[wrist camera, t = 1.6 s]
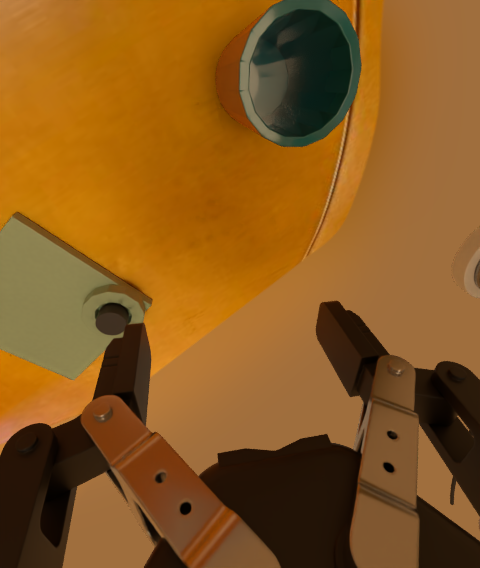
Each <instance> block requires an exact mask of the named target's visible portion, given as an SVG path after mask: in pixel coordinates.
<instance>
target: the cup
mask: <svg viewBox="0 0 480 568" xmlns="http://www.w3.org/2000/svg"><path fill="white" fill-rule="evenodd" d="M360 73H361V57H360V48H359V39H358V36H357V34H356V32H355V30H354V28H353V26H352V24H351V22H350V20H349V18H348V17H347V15H346V13H345V12H344V11H343V10H342V9H340V8H339V7H338V6H336V5H335V4H334V3H332V2H331V1H330V0H282V1H280V2H278V3H276V4H274V5H272V6H271V7H269V8H268V9H267V10H266V11H265V12H264V13H262V14H261V15H260V16H259V17H258V18H257V19H255V20H254V21H253V22H252V23H251V24H250V25H248V26H247V27H246V28H245V29H244V30H243V31H241V32H240V33H239V34H238V35H237V36H236V37H234V38H233V40H232V41H231V42H230V43H229V44H228V45H227V46H226V48H225V49H224V50H223V52H222V54H221V56H220V59H219V61H218V65H217V69H216V90H217V94H218V97H219V100H220V102H221V104H222V106H223V108H224V109H225V111H226V112H227V113H228V114H229V115H230V116H231V117H232V118H233V119H234V120H236V121H237V122H239V123H240V124H242V125H244V126H245V127H247V128H249V129H250V130H252V131H254V132H255V133H257V134H259V135H260V136H262V137H264V138H266V139H268V140H270V141H272V142H274V143H276V144H278V145H280V146H283V147H303V146H307V145H309V144H311V143H314V142H316V141H318V140H321V139H323V138H324V137H326V136H327V135H328V134H329V133H330V132H331V131H332V130H333V129H334V128H335V127H336V126H337V125H338V124H339V123H340V122H341V121H342V120H343V119H344V117H345V115H346V113H347V111H348V110H349V108H350V106H351V104H352V102H353V100H354V98H355V95H356V93H357V88H358V83H359V78H360Z"/></svg>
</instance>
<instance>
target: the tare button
mask: <svg viewBox="0 0 480 568" xmlns="http://www.w3.org/2000/svg"><path fill="white" fill-rule="evenodd" d="M128 318H129V313H128V311H127V309H126V308H125V307H124V306H122V305H120V304H116V303H109V304H106V305H104V306H102V307H101V308H100V310H99V313H98V316H97V318H96V322H95V324H96V327H97V329H98V330H99V331H100V332H101V333H103V334H106V335H118V334H121V333H122V332H124V329H125V326H126V325H127V323H128Z"/></svg>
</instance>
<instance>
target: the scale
mask: <svg viewBox="0 0 480 568" xmlns="http://www.w3.org/2000/svg"><path fill="white" fill-rule="evenodd" d="M109 303H116V304H120V305H122V306H124V307H125V308H126V309H127V311H128V313H129V318H128V323H127V325H129V324H138V323H143V320H144V315H145V311H146V310H147V309H148V308H149V307H150V306H151V304H152V299H150V298H149V297H147V296H146V295H144V294H143V293H141V292H140V291H138V290H136V289H135V288H133V287H132V286H130V285H129V284H127V283H126V282H124V281H123V280H121V279H120V278H118V277H116V276H115V275H113V274H112V273H110V272H109V271H107V270H106V269H104V268H103V267H101V266H100V265H98V264H97V263H95V262H93V261H92V260H90V259H89V258H87V257H86V256H84V255H83V254H81V253H80V252H78V251H77V250H75V249H73V248H72V247H70V246H69V245H67V244H66V243H64V242H63V241H61V240H60V239H58V238H57V237H55V236H54V235H52V234H50V233H49V232H47V231H46V230H44V229H43V228H41V227H40V226H38V225H37V224H35V223H34V222H32V221H30V220H29V219H27V218H26V217H24V216H23V215H21V214H20V213H18V212H17V213H16V214H14V215H13V216H12V217H11V218H10V219H9V221H8V222H7V223H6V225H5V226H4V227H3V229H2V230H1V231H0V349H1V350H4V351H6V352H8V353H11V354H13V355H15V356H18V357H20V358H22V359H25V360H27V361H29V362H32V363H34V364H36V365H39V366H41V367H43V368H46V369H48V370H50V371H53V372H55V373H57V374H60V375H62V376H64V377H67V378H69V379H71V380H75V379H76V378H77V377H78V376H79V375H80V374H81V373H82V372H83V371H84V370H85V369H86V368H87V367H88V366H89V365H90V364H91V363H92V362H93V361H94V360H95V359H96V358H97V357H98V356H99V355H100V354H102V353H103V352H104V351H105V350H106V347H107V346H108V345H109V343H110V342H111V341H112V340H113V338H121V337H123V334H124V332H122V333H121V334H118V335H106V334H103V333H101V332H100V331H99V330H98V329H97V327H96V324H95V322H96V318H97V316H98V313H99V310H100V308H101V307H102V306H104V305H106V304H109Z"/></svg>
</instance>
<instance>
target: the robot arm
mask: <svg viewBox="0 0 480 568" xmlns="http://www.w3.org/2000/svg"><path fill="white" fill-rule="evenodd" d="M474 282H475V285H476V286H477V287H478V288H479V289H480V260H479V262H478V264H477V266H476V268H475V272H474ZM316 335H317V339H318V341H319V342H320V344H321V346H322V348H323V350H324V352H325V353H326V355H327V357H328V359H329V361H330V362H331V364H332V366H333V368H334V369H335V371H336V373H337V375H338V377H339V378H340V380H341V382H342V384H343V385H344V387H345V389H346V391H347V392H348V394H349V396H350V397H353V396H359V395H360V397H361V398H362V400H363V405H362V410H361V415H360V420H359V424H358V429H357V434H356V439H355V443H354V448H353V449H351V448H349V447H346V446H343V445H340V444H336V443H331V442H330V440H329V438H328V435H327V434H324V435H319V436H314V437H308V438H302V439H299V440H297V441H296V442H293V443H291V444H289V445H287V446H285V447H283V448H281V449H279V450H276V451H269V450H258V449H240V450H234V451H229V452H223V453H218V463H216V464H214V465H212V466H211V467H209V468H208V469H206V470H205V471H204V472H202V473H201V474H200V475H199V476H197V474H195V472H194V471H193V470H192V469H191V468H190V467H189V466H188V465H187V464H186V463H185V461H184V460H183V459H182V458H181V457H180V456H179V455H178V454H177V453H176V452H175V450H174V449H173V448H172V447H171V446H170V445H169V444H168V443H167V442H166V440H165V439H164V438H163V437H162V436H161V435H160V434H159V433H157V432H154V433H152V432H151V431H150V430H149V429H148V428H147V427H146V417H147V405H148V393H149V381H150V369H151V351H150V346H149V341H148V337H147V332H146V328H145V324H144V323H138V324H129V325H126V326H125V329H124V334H123V337H121V338H113V340H112V341H111V342H110V343H109V345H108V346H107V347H106V350H105V354H104V360H103V362H102V368H101V369H100V373H99V377H98V381H97V385H96V389H95V393H94V396H93V400H92V402H90V403H89V404H88V405H87V406H86V407H85V409H84V410H83V412H82V414H81V415H80V416H78V417H77V418H75V419H74V420H71V421H69V422H67V423H65V424H62V425H60V426H57V427H55V428H51V427H50V426H49V425H47V424H43V423H37V424H32V425H29V426H27V427H25V428H23V429H21V430H19V431H18V432H17V433H15V434H14V435H13V436H12V437H11V438H10V439H9V440H8V441H7V443H6V444H5V446H4V448H3V450H2V453H1V455H0V568H62V566H63V561H64V554H65V549H66V544H67V539H68V533H69V527H70V522H71V517H72V511H73V506H74V500H75V495H76V490H77V486H78V485H80V484H83V483H85V482H87V481H88V480H90V479H92V478H94V477H96V476H98V475H100V474H102V473H104V472H105V473H106V474H107V476H108V477H109V479H110V480H111V481H112V483H113V485H114V486H115V488H116V489H117V490H118V492H119V493H120V495H121V496H122V498H123V499H124V501H125V502H126V504H127V505H128V507H129V508H130V510H131V511H132V513H133V515H134V516H135V518H136V520H137V522H138V523H139V525H140V527H141V528H142V530H143V531H144V533H145V534H146V536H147V537H148V539H149V540H150V542H151V543H152V545H153V546H154V550H153V552H152V554H151V556H150V557H149V559H148V561H147V563H146V564H145V566H144V568H480V541H479V540H477V539H476V538H475V537H473V536H472V535H471V534H469V533H468V532H467V531H465V530H463V529H462V528H461V527H460V526H458V525H457V524H456V523H454V522H453V521H452V520H450V519H449V518H447V517H446V516H445V515H443V514H442V513H441V512H439V511H438V510H437V509H435V508H434V507H433V506H431V505H430V504H428V503H427V502H426V501H424V500H423V499H421V498H420V497H419V496H418V495H417V466H418V465H417V464H418V432H419V430H418V429H419V428H418V427H419V424H420V426H421V427H422V429H423V430H424V432H425V433H426V435H427V436H428V438H429V439H430V441H431V443H432V444H433V445H434V447H435V449H436V450H437V451H438V453H439V455H440V456H441V458H442V459H443V461H444V462H445V464H446V466H447V467H448V468H449V470H450V472H451V473H452V475H453V479H452V484H451V493H450V504H451V505H453V504H454V491H455V485H456V481H457V482H458V484H459V485H460V487H461V489H462V490H463V492H464V493H465V494H466V496H467V498H468V499H469V501H470V502H471V504H472V505H473V507H474V508H475V510H476V511H477V513H478V515H479V516H480V380H479V379H478V378H477V377H476V376H475V375H474V374H473V373H472V372H471V371H470V370H469V369H468V368H466V367H464V366H462V365H460V364H458V363H455V362H450V361H443V362H440V363H438V364H437V366H436V368H435V370H427V369H418V368H413V366H412V365H411V364H410V363H409V362H407V361H406V360H404V359H402V358H400V357H398V356H394V355H390V354H389V353H388V352H387V351H386V349H385V348H384V347H383V346H382V344H381V343H380V342H379V341H378V339H377V338H376V337H375V336H374V334H373V333H372V332H371V331H370V329H369V328H368V327H367V326H366V325H365V323H364V322H363V320H362V319H361V318H360V317H359V316H358V315H356V314H355V313H353V312H352V311H350V310H347V311H346V310H345V309H344V308H343V306H342V305H341V304H340V302H338V301H330V302H322V303H321V304H320V307H319V313H318V319H317V325H316ZM457 415H458V416H459V417H460V418H461V419H462V421H463V422H464V423H465V424H466V425H467V427H468V428H469V429H470V430H469V431H468V430H467V429H466V428H465V426H464V425H463V424H462V422H461V421H460V420H459V419H458V417H457ZM473 437H474V438H473ZM479 529H480V519H479Z"/></svg>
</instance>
